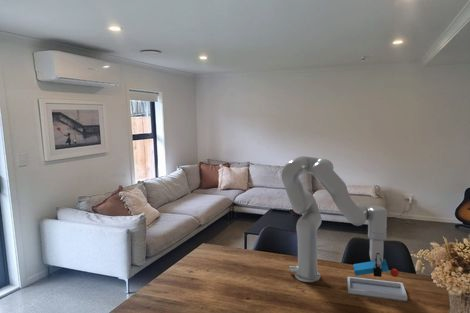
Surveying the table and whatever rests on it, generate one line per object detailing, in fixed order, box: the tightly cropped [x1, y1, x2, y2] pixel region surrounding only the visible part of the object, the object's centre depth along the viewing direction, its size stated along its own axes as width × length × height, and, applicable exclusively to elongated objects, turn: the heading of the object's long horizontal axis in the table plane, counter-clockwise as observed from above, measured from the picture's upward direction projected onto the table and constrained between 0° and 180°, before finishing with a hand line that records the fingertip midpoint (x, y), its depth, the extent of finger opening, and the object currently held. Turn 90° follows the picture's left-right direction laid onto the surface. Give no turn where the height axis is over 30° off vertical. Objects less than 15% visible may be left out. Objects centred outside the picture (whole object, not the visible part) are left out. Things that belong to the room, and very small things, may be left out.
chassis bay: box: [347, 276, 408, 303], centre depth 151 cm, size 24×12×2 cm, turn 73°
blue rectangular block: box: [352, 258, 399, 278], centre depth 150 cm, size 7×7×18 cm
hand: (376, 272), depth 150 cm, fingers closed on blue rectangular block, 7 cm apart
